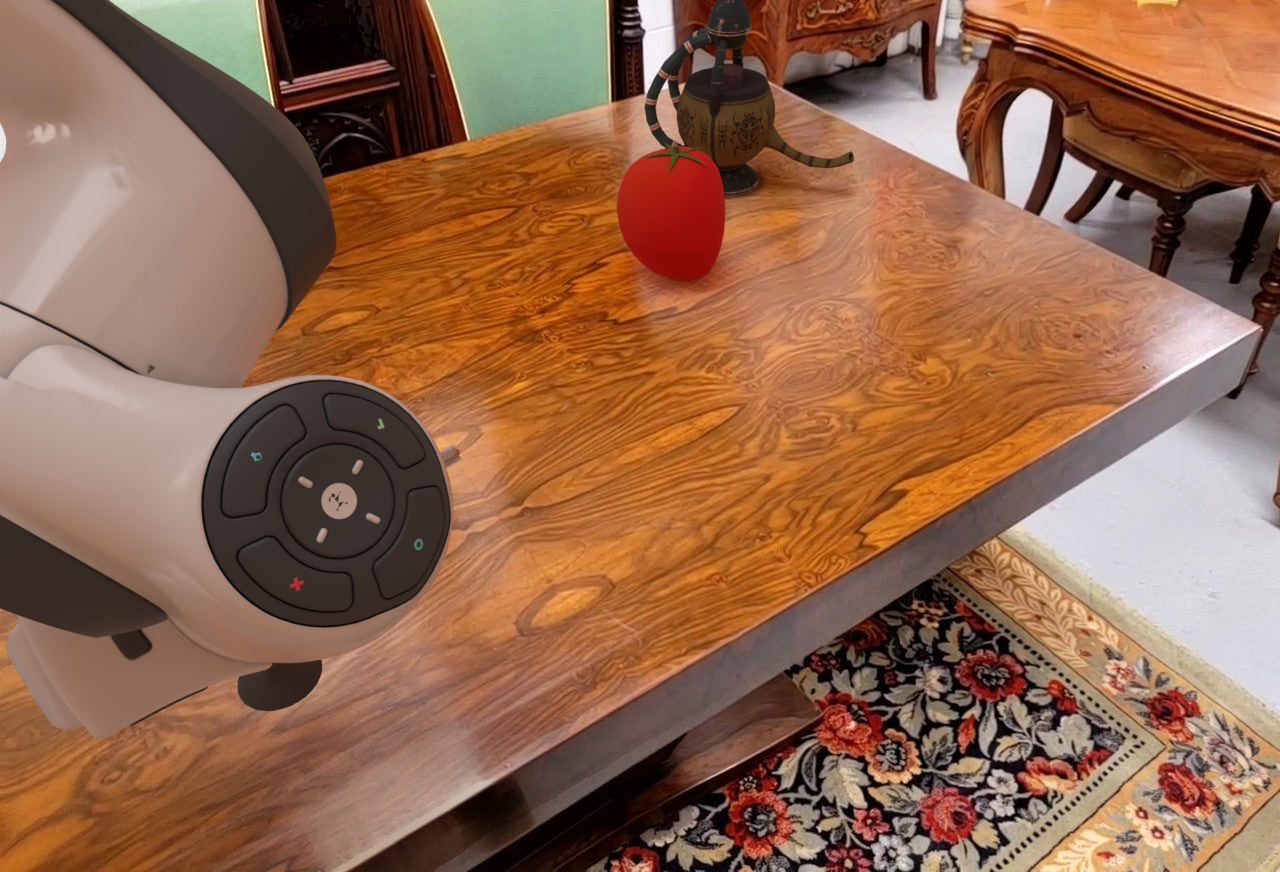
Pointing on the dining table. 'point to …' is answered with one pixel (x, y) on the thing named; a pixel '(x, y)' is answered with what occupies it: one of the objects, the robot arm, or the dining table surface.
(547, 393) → the dining table surface
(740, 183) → the teapot
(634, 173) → the tomato
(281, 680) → the sundae
